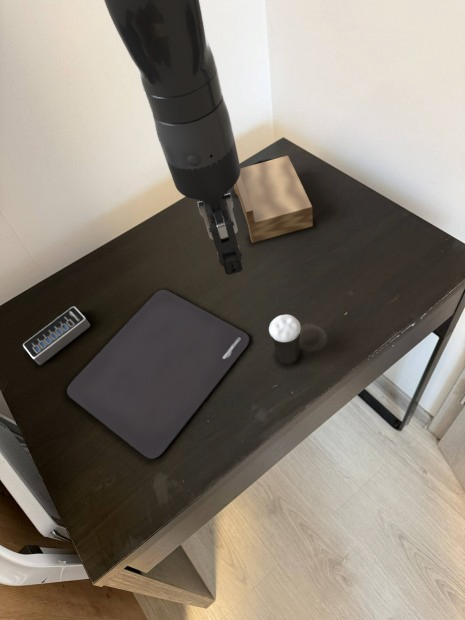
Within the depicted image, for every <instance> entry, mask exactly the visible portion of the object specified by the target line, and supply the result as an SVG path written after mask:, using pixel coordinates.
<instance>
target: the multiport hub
mask: <svg viewBox="0 0 465 620" xmlns="http://www.w3.org/2000/svg"><path fill="white" fill-rule="evenodd" d="M90 327H91V324H90V322H89V321H88V320H87V318H86V317H85V315H83V314H82V312H80V310H79V309H78V308H77V307H76V306H74V305H73V306H71V307H69V308H68V309H67V310H66V311H64V312H63V313H62V314H61V315H59V316H57V317H56V318H55V319H54V320H52V321H51V322H49V324H48V325H46V326H45V327H43V328H42V329H41V330H39V331H38V332H37V333H35V334H34V335H33V336H32V337H30V338H29V339H28V340H26V341H25V342H24V343H23V344H22V347H23V349H24V350H25V351H26V352H27V353H28V355H29V356H30V357H31V358H32V360H34V361H35V362H36V363H37V364H38V365H39V366H41V365H43V364H44V363H46V362H47V361H48V360H49V359H51V358H52V357H53V356H54V355H56V354H57V353H58V352H60V351H61V350H63V348H65V347H66V346H68V345H69V344H70V343H72V341H74V340H75V339H76V338H77V337H79V336H80V335H82V334H83V333H84V332H85V331H86V330H88V329H89V328H90Z"/></svg>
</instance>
